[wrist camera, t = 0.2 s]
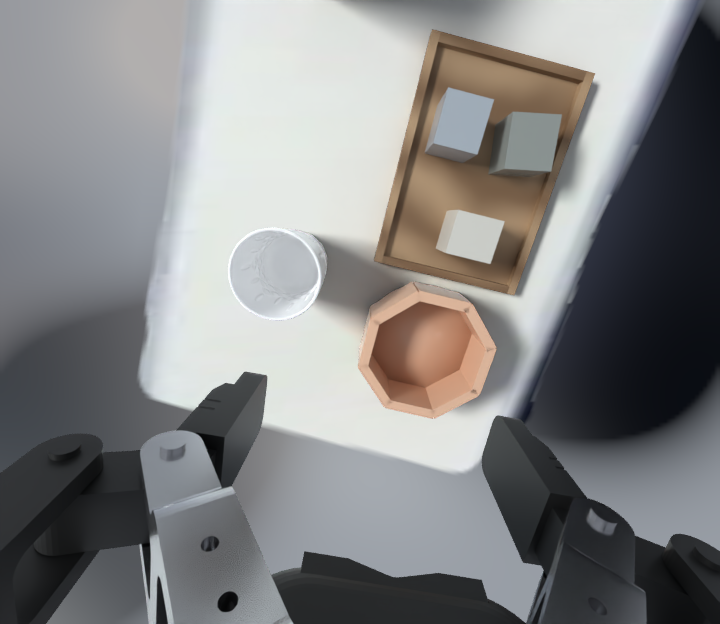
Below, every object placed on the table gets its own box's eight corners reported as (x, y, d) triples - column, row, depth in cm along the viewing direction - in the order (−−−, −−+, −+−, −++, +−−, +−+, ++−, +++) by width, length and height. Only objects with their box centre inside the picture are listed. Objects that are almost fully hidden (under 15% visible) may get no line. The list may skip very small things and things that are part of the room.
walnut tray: (429, 36, 33) (432, 29, 32) (586, 79, 34) (595, 73, 33) (374, 259, 39) (374, 261, 38) (509, 292, 40) (514, 295, 38)
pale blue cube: (437, 105, 34) (448, 87, 29) (476, 116, 34) (494, 99, 30) (424, 153, 35) (433, 143, 31) (462, 163, 36) (477, 154, 31)
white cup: (341, 237, 38) (332, 244, 29) (322, 304, 40) (307, 332, 31) (272, 215, 38) (238, 214, 28) (255, 284, 40) (219, 305, 30)
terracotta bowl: (378, 271, 39) (380, 281, 34) (490, 299, 40) (510, 312, 34) (351, 375, 43) (349, 399, 37) (455, 399, 43) (468, 426, 38)
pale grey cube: (446, 210, 37) (458, 209, 32) (487, 220, 37) (504, 221, 32) (435, 248, 38) (445, 253, 33) (475, 258, 38) (490, 264, 33)
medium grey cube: (495, 124, 35) (513, 111, 30) (538, 127, 35) (562, 114, 30) (488, 174, 36) (504, 168, 32) (529, 177, 36) (551, 171, 32)
